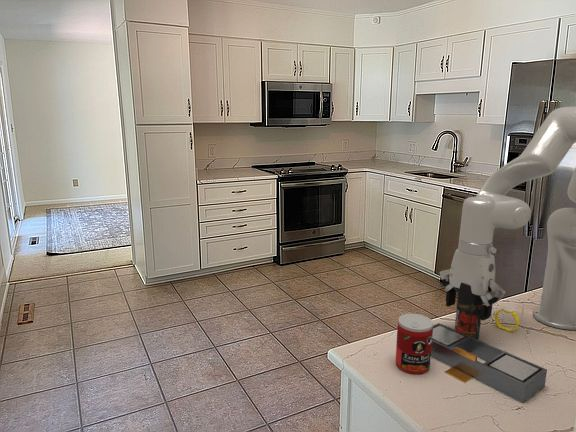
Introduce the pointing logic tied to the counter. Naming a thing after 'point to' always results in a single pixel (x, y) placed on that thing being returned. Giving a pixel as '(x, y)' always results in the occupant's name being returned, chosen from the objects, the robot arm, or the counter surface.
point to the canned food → (414, 343)
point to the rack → (486, 364)
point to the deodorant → (468, 312)
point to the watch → (510, 311)
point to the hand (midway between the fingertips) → (467, 311)
